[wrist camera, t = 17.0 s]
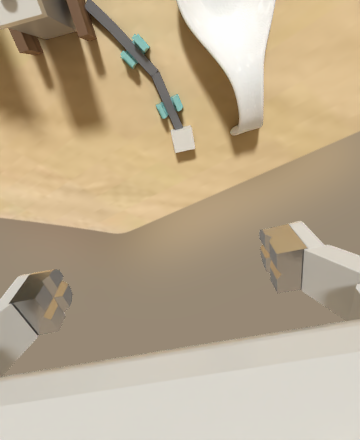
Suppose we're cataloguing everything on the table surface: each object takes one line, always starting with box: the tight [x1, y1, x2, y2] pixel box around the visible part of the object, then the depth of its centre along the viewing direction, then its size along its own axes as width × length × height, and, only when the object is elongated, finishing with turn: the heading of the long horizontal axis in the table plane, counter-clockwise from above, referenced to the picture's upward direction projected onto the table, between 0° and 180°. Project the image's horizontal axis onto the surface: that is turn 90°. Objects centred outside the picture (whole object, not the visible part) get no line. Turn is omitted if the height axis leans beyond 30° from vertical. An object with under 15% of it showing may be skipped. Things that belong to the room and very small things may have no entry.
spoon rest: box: [176, 0, 276, 135], centre depth 31 cm, size 24×12×7 cm, turn 19°
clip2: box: [120, 34, 150, 69], centre depth 33 cm, size 2×4×2 cm, turn 136°
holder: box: [9, 0, 97, 55], centre depth 29 cm, size 9×8×4 cm
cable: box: [85, 0, 195, 153], centre depth 35 cm, size 4×22×2 cm, turn 32°
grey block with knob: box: [0, 0, 77, 40], centre depth 26 cm, size 5×5×12 cm
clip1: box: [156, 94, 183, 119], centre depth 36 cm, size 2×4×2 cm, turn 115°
